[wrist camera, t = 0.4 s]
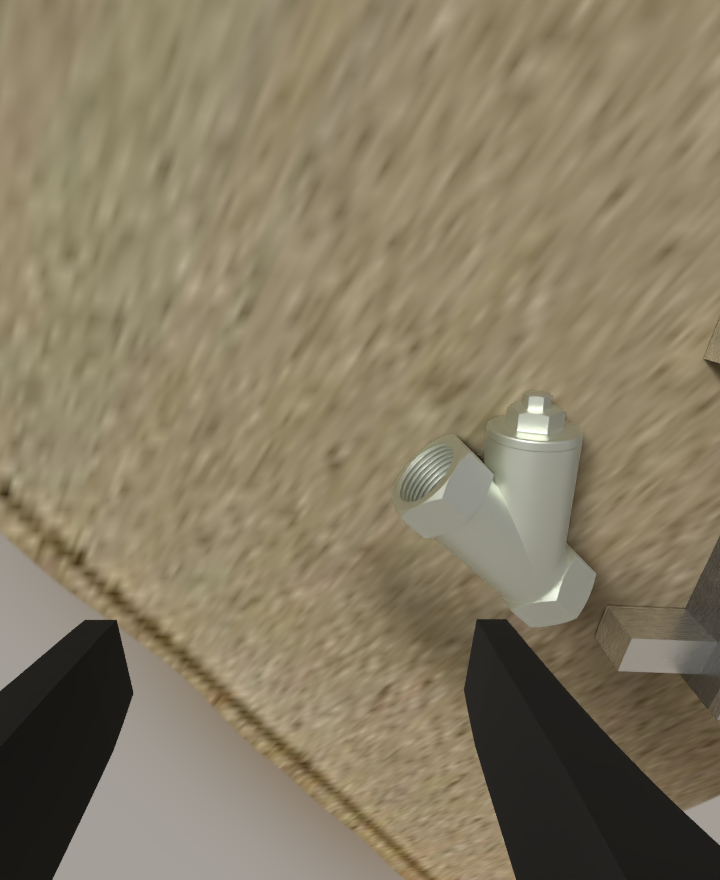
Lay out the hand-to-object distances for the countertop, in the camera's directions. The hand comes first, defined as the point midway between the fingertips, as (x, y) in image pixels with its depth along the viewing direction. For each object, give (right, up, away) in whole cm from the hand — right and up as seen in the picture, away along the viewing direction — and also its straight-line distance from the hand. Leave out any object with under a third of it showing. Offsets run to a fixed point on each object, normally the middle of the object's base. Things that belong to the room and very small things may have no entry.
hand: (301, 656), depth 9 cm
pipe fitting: (+8, +3, +10) cm, 13 cm away
